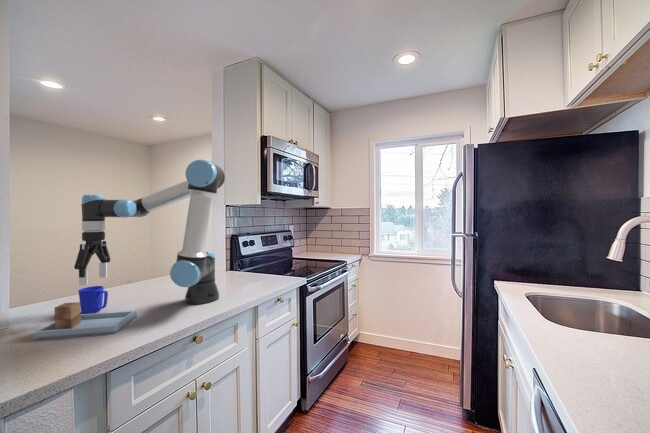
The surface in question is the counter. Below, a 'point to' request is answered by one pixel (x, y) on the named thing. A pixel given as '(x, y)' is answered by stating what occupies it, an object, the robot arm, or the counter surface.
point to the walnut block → (67, 315)
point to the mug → (92, 299)
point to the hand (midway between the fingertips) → (93, 281)
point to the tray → (89, 325)
